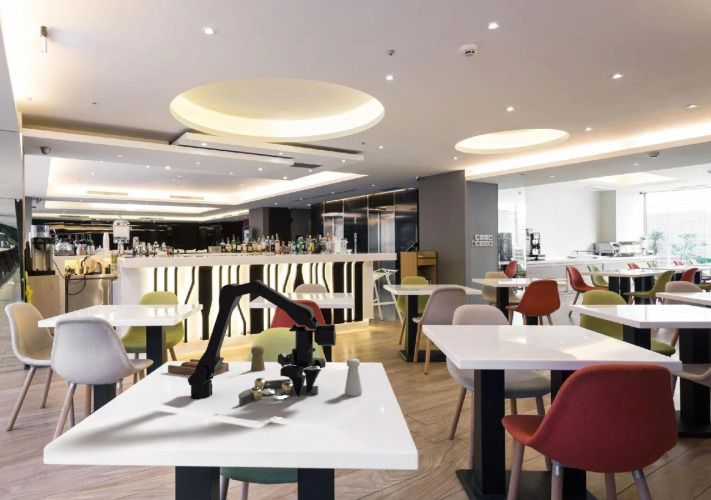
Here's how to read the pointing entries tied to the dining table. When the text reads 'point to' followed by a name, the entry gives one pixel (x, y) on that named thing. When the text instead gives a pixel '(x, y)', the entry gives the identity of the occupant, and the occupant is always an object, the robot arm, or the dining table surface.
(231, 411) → the dining table surface
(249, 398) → the levelling base
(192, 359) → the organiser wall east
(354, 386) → the salt shaker
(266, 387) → the knob left
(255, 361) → the cork
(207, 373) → the robot arm
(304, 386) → the knob right
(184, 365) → the sunglasses case
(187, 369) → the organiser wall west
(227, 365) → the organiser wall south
